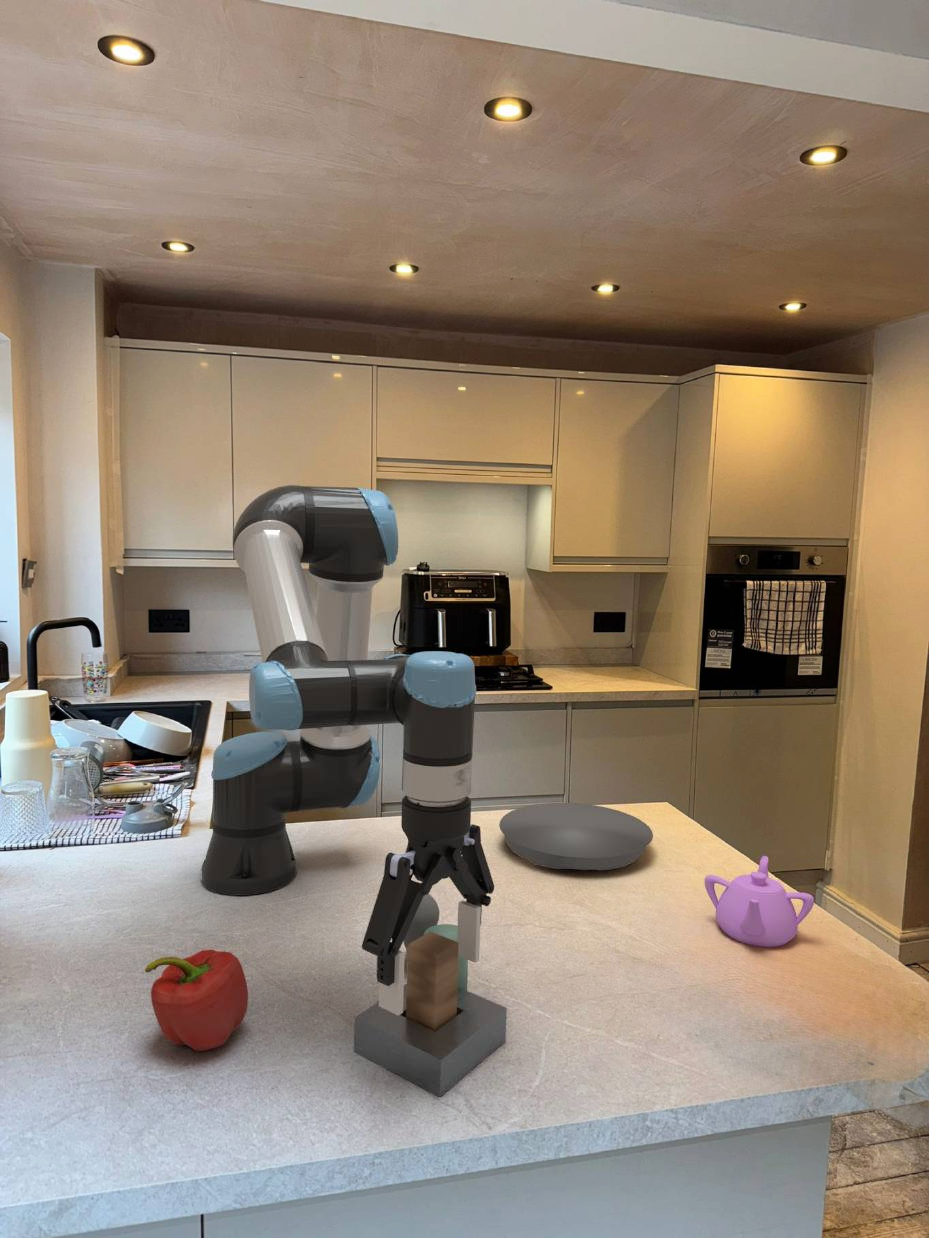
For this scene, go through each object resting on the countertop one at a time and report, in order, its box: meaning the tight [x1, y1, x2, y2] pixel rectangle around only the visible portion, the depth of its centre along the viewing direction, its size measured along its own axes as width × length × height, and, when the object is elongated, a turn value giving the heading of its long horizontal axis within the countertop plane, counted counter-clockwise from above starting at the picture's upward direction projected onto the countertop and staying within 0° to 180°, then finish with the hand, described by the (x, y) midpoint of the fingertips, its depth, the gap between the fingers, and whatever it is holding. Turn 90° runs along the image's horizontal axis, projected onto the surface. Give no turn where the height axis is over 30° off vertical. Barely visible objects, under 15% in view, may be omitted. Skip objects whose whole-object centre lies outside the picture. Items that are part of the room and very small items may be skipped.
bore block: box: [353, 983, 508, 1098], centre depth 92 cm, size 12×12×4 cm
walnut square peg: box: [406, 932, 459, 1032], centre depth 91 cm, size 4×4×12 cm
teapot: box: [704, 855, 815, 948], centre depth 121 cm, size 12×14×9 cm
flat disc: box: [499, 802, 654, 871], centre depth 152 cm, size 28×28×4 cm
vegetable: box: [144, 949, 249, 1052], centre depth 92 cm, size 11×10×10 cm
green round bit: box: [424, 923, 469, 991], centre depth 102 cm, size 6×6×8 cm
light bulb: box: [403, 893, 440, 964], centre depth 109 cm, size 6×6×10 cm
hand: (431, 982), depth 91 cm, fingers open, 13 cm apart
